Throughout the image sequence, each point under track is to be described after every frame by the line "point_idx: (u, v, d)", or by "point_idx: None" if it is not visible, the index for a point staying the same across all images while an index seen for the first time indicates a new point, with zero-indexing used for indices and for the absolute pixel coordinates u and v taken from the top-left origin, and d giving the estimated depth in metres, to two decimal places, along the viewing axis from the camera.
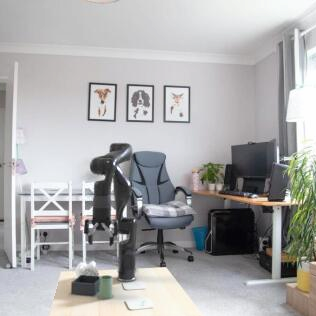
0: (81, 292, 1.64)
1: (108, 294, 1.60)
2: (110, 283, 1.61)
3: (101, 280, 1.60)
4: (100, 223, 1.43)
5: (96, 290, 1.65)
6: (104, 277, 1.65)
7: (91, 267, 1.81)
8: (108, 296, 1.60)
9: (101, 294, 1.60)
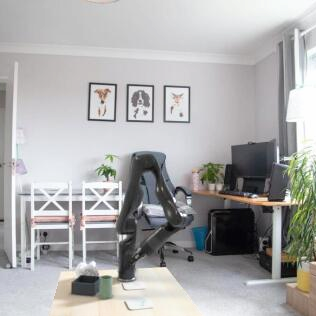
0: (81, 292, 1.64)
1: (108, 294, 1.60)
2: (110, 283, 1.61)
3: (101, 280, 1.60)
4: None
5: (96, 290, 1.65)
6: (104, 277, 1.65)
7: (91, 267, 1.81)
8: (108, 296, 1.60)
9: (101, 294, 1.60)
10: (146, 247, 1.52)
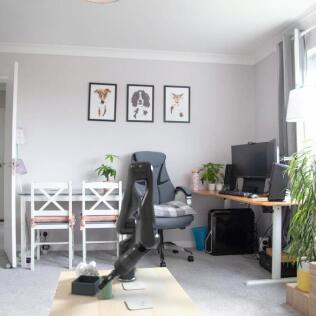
0: (81, 292, 1.64)
1: (108, 294, 1.60)
2: (110, 283, 1.61)
3: (101, 280, 1.60)
4: (117, 274, 1.61)
5: (96, 290, 1.65)
6: (104, 277, 1.65)
7: (91, 267, 1.81)
8: (108, 296, 1.60)
9: (101, 294, 1.60)
10: (120, 267, 1.56)
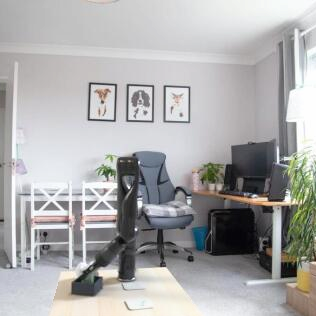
0: (81, 292, 1.64)
1: None
2: (91, 277, 1.67)
3: None
4: (98, 266, 1.68)
5: (96, 290, 1.65)
6: None
7: None
8: None
9: None
10: (100, 259, 1.63)
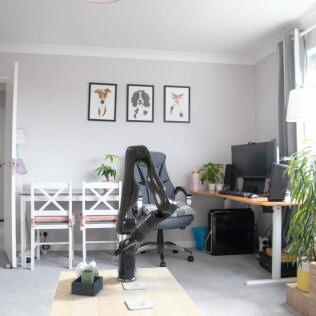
0: (81, 292, 1.64)
1: None
2: (91, 277, 1.67)
3: (83, 274, 1.67)
4: None
5: (96, 290, 1.65)
6: (86, 271, 1.72)
7: (91, 267, 1.81)
8: None
9: None
10: (136, 233, 1.57)
